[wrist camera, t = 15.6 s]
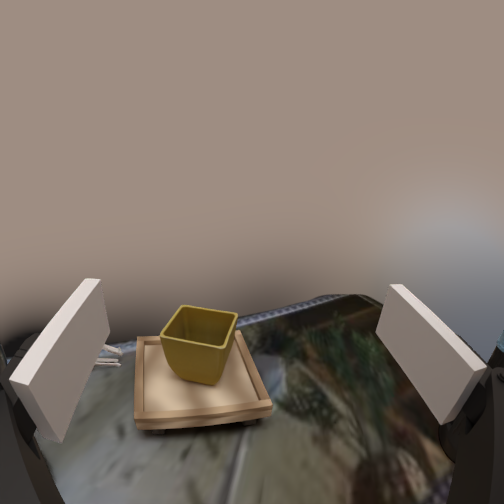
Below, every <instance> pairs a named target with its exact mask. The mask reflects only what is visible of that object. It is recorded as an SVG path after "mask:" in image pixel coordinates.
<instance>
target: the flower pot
mask: <svg viewBox="0 0 504 504" xmlns="http://www.w3.org/2000/svg"><path fill="white" fill-rule="evenodd" d="M237 319H238V314H237V313H233V312H226V311H219V310H213V309H206V308H200V307H194V306H188V305H182V306H180V307H179V309H178V310H177V311H176V313H175V314H174V315H173V317H172V318H171V320H170V321H169V322H168V324H167V325H166V326H165V327H164V329H163V330H162V332H161V333H160V340H161V343H162V347H163V351H164V354H165V357H166V360H167V363H168V365H169V366H170V368H171V369H172V370H173V371H174V373H176V374H177V375H178V376H179V377H180V378H182V379H184V380H188V381H193V382H198V383H203V384H207V385H215V384H216V383H217V382H218V381H219V380H220V378H221V376H222V373H223V370H224V367H225V364H226V362H227V359H228V356H229V354H230V351H231V349H232V346H233V342H234V337H235V331H236V325H237Z"/></svg>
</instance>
